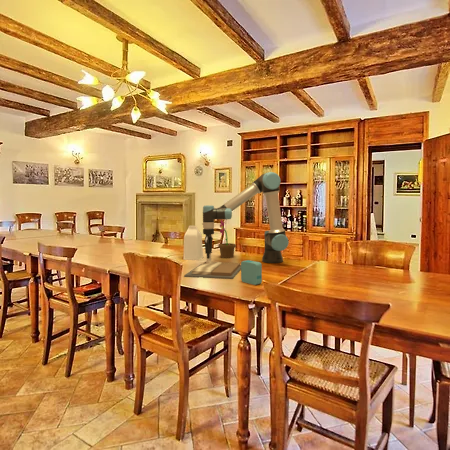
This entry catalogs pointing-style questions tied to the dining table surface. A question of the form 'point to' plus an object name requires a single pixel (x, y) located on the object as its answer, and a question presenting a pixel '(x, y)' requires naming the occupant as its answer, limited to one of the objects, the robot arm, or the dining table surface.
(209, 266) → the plank
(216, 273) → the floor frame
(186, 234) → the milk
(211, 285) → the dining table surface
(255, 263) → the data package
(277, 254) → the robot arm
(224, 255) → the flowerpot
